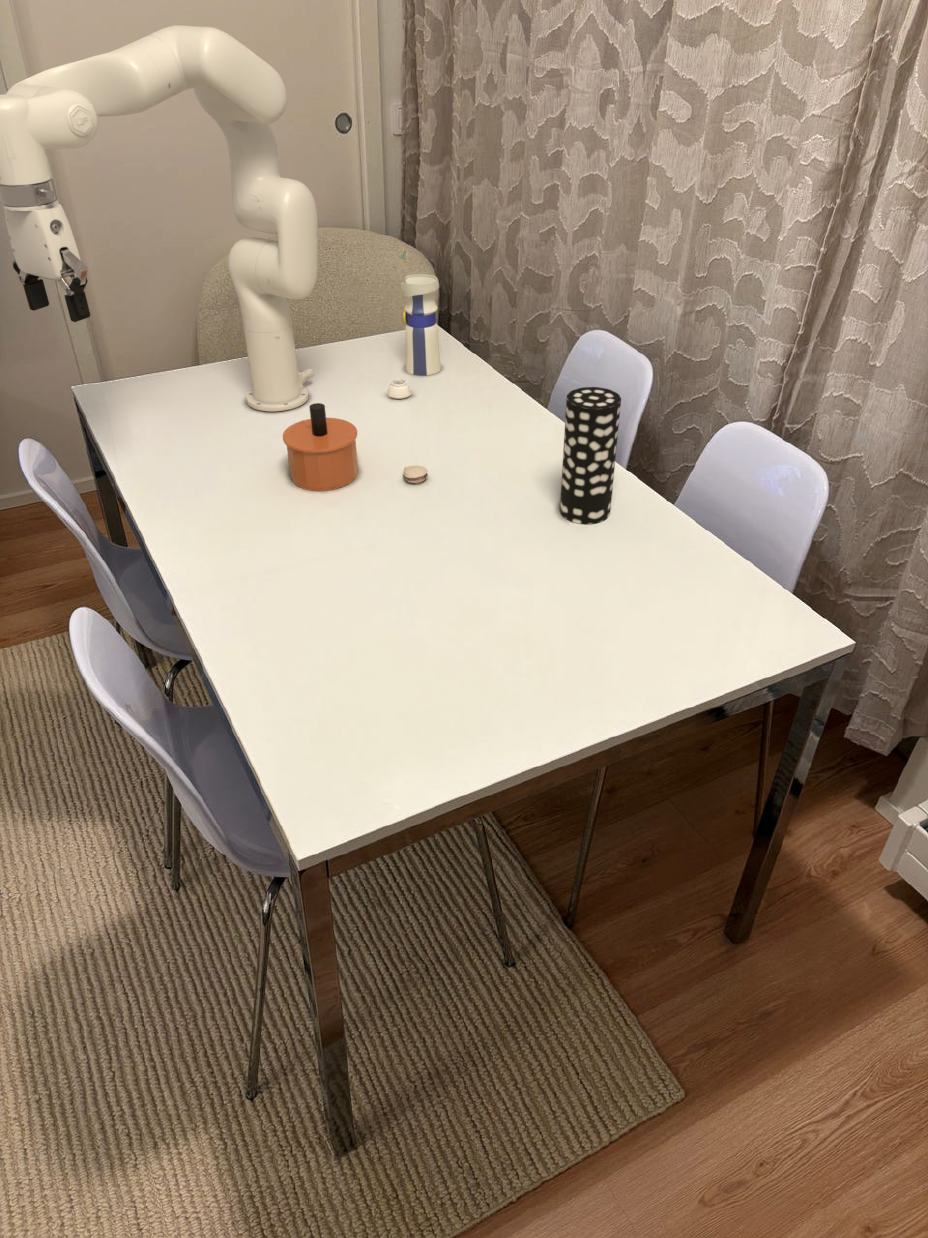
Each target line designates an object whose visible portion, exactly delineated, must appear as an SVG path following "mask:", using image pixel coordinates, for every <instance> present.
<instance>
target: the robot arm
mask: <svg viewBox="0 0 928 1238" xmlns="http://www.w3.org/2000/svg"><path fill="white" fill-rule="evenodd" d="M191 89H193V92H194V95H195V98H196V99H197V102H198V103H199V106H201V107H202V109H203V110H204V111H205V112H206V114H208V115H209V116H210V117H211V118H212V119H213V120H214V122H215V123H216V124H217V126H218V127H219V128H220V130H221V132H222V133H223V136H224V138H225V141H226V143H227V147H228V155H229V164H230V165H229V166H230V181H231V182H230V183H231V199H232V208H233V213H234V218H235V219H236V221H237V223H238V224H240V226H242V227H244V228H245V229H249V230H252V231H255V232H256V231H257V232H261V233H267V234H272V235H277V240H274V239H268V238H262V237H253V236H252V237H243V238H241V239H240V240H238V241H236V242H235V243H234V244H233V245H232V246H231V249H230V250H229V253H228V256H227V267H228V273H229V276H230V280H231V283H232V285H233V288H234V290H235V291H234V292H235V294H236V297H237V301H238V305H239V309H240V310H239V311H240V315H241V321H242V328H243V336H244V342H245V348H246V357H247V362H248V369H249V375H250V381H251V387H252V388H251V389H250V390H249V391H248V392H247V393H246V396H245V401H246V404H247V405H248V406H249V408H252V409H254V410H257V411H261V412H268V413H269V412H271V413H274V412H285V411H290V410H293V409H297V408H298V407H301V406H302V405H304V404H306V402H307V401H308V399H309V391H308V389H307V388H306V387H305V386H304V385H303V384H304V383H305V382H306V381H307V380H309V379H311V378H313V377H314V376H315V372H314V370H313V369H312V368H310V367H308V368H306V369H303V370H302V371H300V370H299V369H298V360H297V351H296V344H295V336H294V327H293V318H292V312H291V308H290V305H289V303H288V299H289V300H303V299H306V298H308V297H309V296H310V295H312V293H313V292H314V290H315V287H316V285H317V281H318V275H319V273H318V272H319V233H318V232H319V231H318V229H319V227H318V226H319V225H318V223H319V222H318V209H317V204H316V200H315V197H314V196H313V192H312V191H311V190H310V189H309V188H308V187H307V185H305V184H304V183H303V182H302V181H299V180H296V179H292V178H287V177H282V176H281V173H280V166H279V154H278V144H277V140H276V136H275V134H274V131H273V129H272V127H271V124H273V123H275V122H277V121H278V120H279V119H280V118H281V117H282V116H283V115H284V112H285V111H286V107H287V103H288V95H287V89H286V85H285V83H284V81H283V78H282V77H281V75H280V74H279V73H278V71H277V70H276V69H275V68H274V67H273V66H272V65H270V64H269V63H268V62H267V61H265V60H264V59H262V58H261V57H260V56H259V55H258V54H256V53H254V52H253V51H252V50H251V49H249V48H248V47H247V46H245V44H243V43H242V42H240V41H239V40H238V39H236V38H234V37H233V36H232V35H230V34H229V33H227V32H225V31H223V30H221V29H219V28H217V27H214V26H213V27H212V26H199V25H198V26H196V25H195V26H194V25H181V24H180V25H179V24H177V25H170V26H167V27H163V28H161V29H158V30H156V31H154V32H152V33H150V34H147V35H146V36H144V37H141V38H139V39H137V40H135V41H132V42H130V43H128V44H125V45H123V46H121V47H118V48H117V49H114V50H112V51H109V52H105V53H101V54H97V55H93V56H90V57H87V58H83V59H81V60H77V61H72V62H69V63H65V64H61V65H57V66H54V67H51V68H48V69H46V70H43V71H41V72H39V73H36V74H33V75H31V76H29V77H27V78H25V79H23V80H21V81H18V82H16V83H15V84H13V85H12V86H11V87H10V88H8V90H7V91H6V93H5V94H4V93H3V94H0V201H1V205H2V208H3V211H4V213H3V214H4V219H5V224H6V225H5V226H6V229H7V233H8V234H7V235H8V238H9V242H10V246H9V247H8V248H7V249H6V251H5V252H6V254H7V256H8V258H9V260H10V261H11V264H12V267H13V269H14V270H15V272H16V273H17V274H18V280H19V282H20V283H21V284H22V286H23V291H24V294H25V298H26V300H27V304H28V307H29V310H30V311H34V312H35V311H38V310H41V309H43V308H47V307H49V305H50V301H49V297H48V294H47V290H46V286H45V283H44V279H47V280H52V281H55V282H56V281H57V282H58V283H59V284H60V286H61V288H62V289H63V290H64V292H65V293H66V294H64V300H65V303H66V307H67V310H68V315H69V319H70V321H71V322H73V323H78V322H80V321H83V320H86V319H88V318H90V317H91V312H90V307H89V303H88V301H87V299H88V298H87V296H86V291H87V284H88V266H87V265H86V263H84V262H83V261H82V259H81V256H80V252H79V249H78V246H77V242H76V240H75V236H74V233H73V230H72V227H71V224H70V221H69V219H68V217H67V214H66V212H65V210H64V208H63V206H62V204H60V202H59V198H58V193H57V190H56V186H55V182H54V178H53V174H52V170H51V166H50V162H49V158H48V154H47V151H48V150H62V149H63V150H64V149H65V150H66V149H68V150H69V149H78V148H81V147H84V146H86V145H88V144H89V143H91V141H92V140H93V139H94V138H95V136H96V135H97V132H98V128H99V117H120V116H122V117H123V116H128V115H134V114H140V113H143V112H145V111H147V110H149V109H152V108H153V107H155V106H157V105H159V104H161V103H162V102H164V101H166V100H169V99H170V98H172V97H174V96H177V95H178V94H180V93H182V92H184V91H187V90H191ZM42 278H43V279H42ZM69 279H71V282H70V283H69V281H68V280H69Z"/></svg>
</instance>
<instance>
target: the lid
mask: <svg viewBox="0 0 928 1238" xmlns="http://www.w3.org/2000/svg"><path fill="white" fill-rule="evenodd" d="M309 416H310V418H308V419H304V420H300V421H297V422H294V423H293V424H291V425H289V426H288V427H287V428H286V429H285V430H284V431H283V433H282V441H283V444H285V446H286V447H287V446H288V447H290V448H292V449H294V450H297V451H301V452H309V453H321V452H329V451H334V450H338V449H341V448H344V447H346V446H348V445H350V444H351V443H352V442H353V441H354V440H356V439H357V437H358V428H357V427H356V426H355V425H354V424H353V423H352V422H350V421H348V420H345V419H341V418H336V417H327V415H326V405H325V404H324V403H320V402H317V403H316V402H315V403H312V404H310V405H309Z"/></svg>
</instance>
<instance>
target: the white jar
mask: <svg viewBox="0 0 928 1238" xmlns="http://www.w3.org/2000/svg"><path fill="white" fill-rule="evenodd" d="M386 394H387V396H388V397H389V398H392V399H396V400H400V399H401V400H402V399H406V398H408V397H410V396H411V395H412V394H413V391H412V389H411V387H410V385H409V383H408V382H407V380H405V379H404V378H395V379H392V380H391V383H390V384H389V386H388V388H387V391H386Z"/></svg>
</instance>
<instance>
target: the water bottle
mask: <svg viewBox="0 0 928 1238" xmlns="http://www.w3.org/2000/svg"><path fill="white" fill-rule="evenodd" d="M408 253H409V251H406V249H405V247H402V252H401V253H400V254H399V255H398V257H399V258H400V265H403V263H407V255H408ZM404 280H405V282H404V281H402V282H401V283H400V291H401V294H402V297H403V298H406V303H405V305H404V309H403V311H402V312H403V313H402V322H403V325H404V326H405V329H404V334H405V335H404V336H405V337H404V338H405V371H406V372H407V373H408V374H410V375H413V376H419V377H421V376H431V375H435V374H437V373H439V372H440V371H441V370H442V365H441V355H440V353H441V351H440V335H439V326H438V323H437V311H438V307H439V306H438V305H437V304H436V301H435V293H436V292H435V291H438V290H439V288H440V282H439V279H438V277H437V276H435V275H433V274H428V273H427V274H426V273H415V274H408V275H406V276H405V277H404Z"/></svg>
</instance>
